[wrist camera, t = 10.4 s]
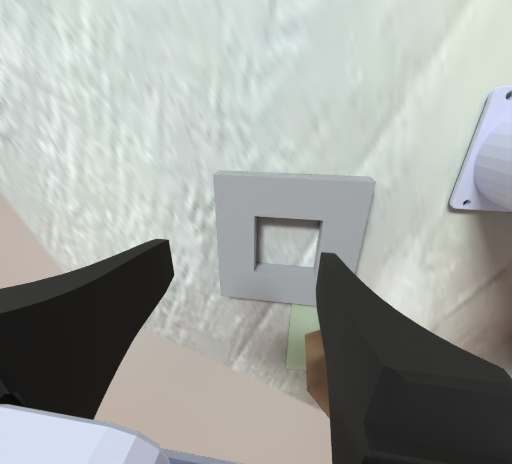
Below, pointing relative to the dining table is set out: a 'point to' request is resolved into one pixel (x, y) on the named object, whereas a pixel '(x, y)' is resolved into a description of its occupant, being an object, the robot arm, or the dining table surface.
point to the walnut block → (317, 370)
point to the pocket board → (285, 206)
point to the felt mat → (300, 334)
